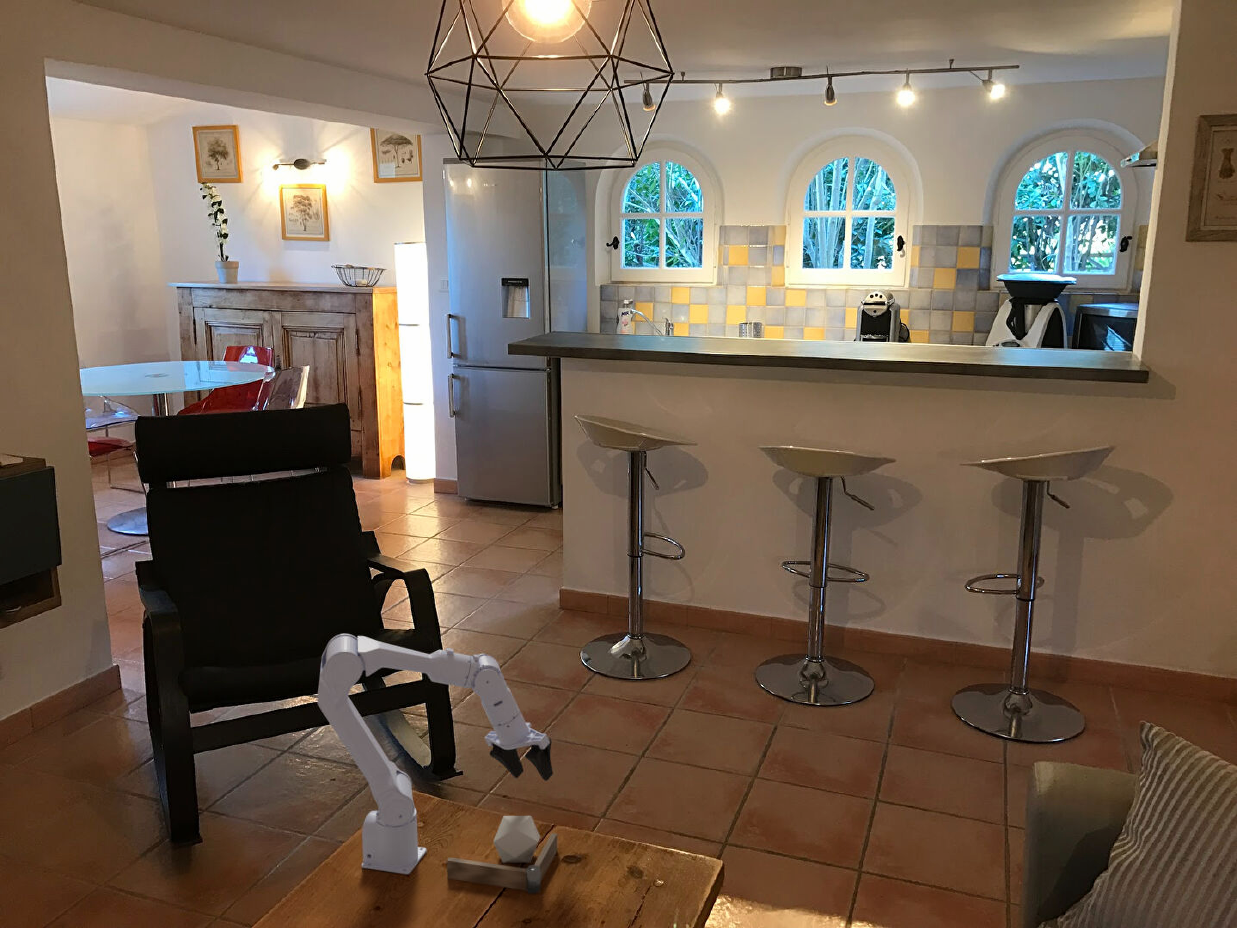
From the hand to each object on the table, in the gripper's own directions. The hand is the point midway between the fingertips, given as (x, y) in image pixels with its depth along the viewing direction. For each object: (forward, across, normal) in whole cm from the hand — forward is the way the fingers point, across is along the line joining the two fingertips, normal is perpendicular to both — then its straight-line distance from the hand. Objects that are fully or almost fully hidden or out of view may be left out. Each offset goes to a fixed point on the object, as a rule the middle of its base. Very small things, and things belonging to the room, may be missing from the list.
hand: (533, 775), depth 188 cm
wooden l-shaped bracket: (+10, +2, +13) cm, 16 cm away
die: (+11, +2, +10) cm, 15 cm away
